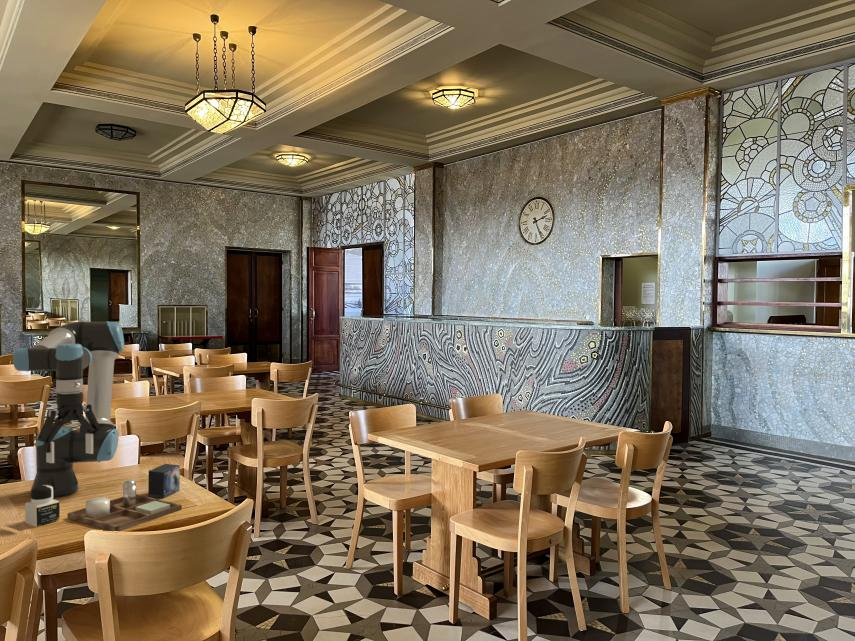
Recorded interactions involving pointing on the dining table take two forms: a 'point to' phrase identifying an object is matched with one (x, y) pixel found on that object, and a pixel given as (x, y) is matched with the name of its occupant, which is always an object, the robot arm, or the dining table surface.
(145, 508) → the napkin stack
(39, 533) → the dining table surface
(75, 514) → the caddy
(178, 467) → the small box
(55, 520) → the medicine bottle
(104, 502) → the silver rounded block
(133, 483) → the metal shaker
